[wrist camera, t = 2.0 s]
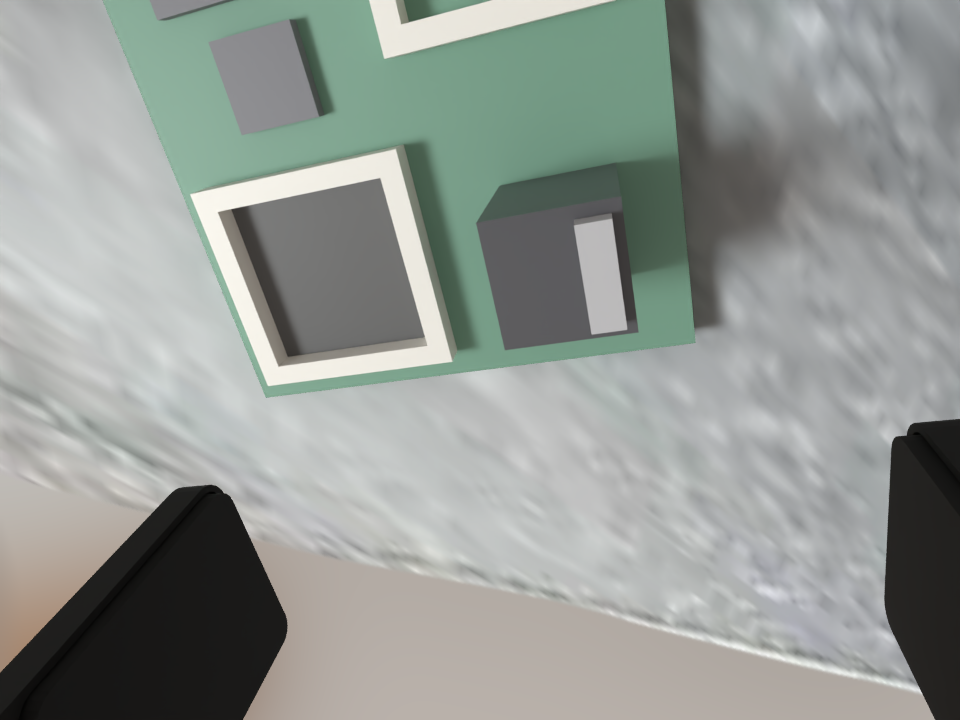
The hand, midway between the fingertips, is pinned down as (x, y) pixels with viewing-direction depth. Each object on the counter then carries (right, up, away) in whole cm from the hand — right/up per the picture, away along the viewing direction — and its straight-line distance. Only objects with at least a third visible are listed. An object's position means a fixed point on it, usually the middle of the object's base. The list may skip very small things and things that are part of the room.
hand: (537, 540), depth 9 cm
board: (-3, +11, +14) cm, 18 cm away
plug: (+2, +7, +14) cm, 16 cm away
